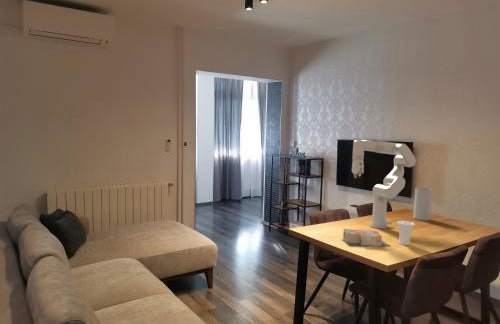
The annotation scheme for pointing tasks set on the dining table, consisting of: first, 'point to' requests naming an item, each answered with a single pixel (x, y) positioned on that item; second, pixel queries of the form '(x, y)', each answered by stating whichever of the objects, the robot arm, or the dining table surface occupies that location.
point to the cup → (405, 231)
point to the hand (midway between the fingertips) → (356, 183)
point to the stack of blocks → (362, 237)
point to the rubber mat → (366, 245)
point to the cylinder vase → (422, 204)
